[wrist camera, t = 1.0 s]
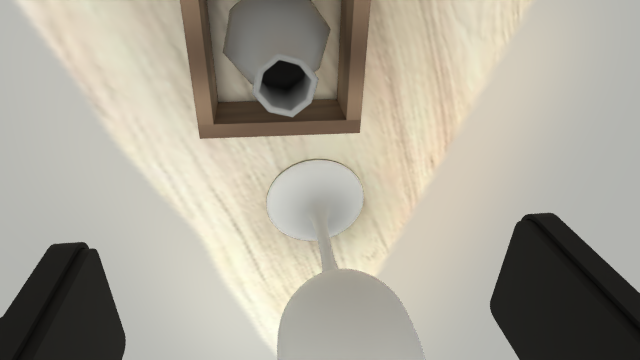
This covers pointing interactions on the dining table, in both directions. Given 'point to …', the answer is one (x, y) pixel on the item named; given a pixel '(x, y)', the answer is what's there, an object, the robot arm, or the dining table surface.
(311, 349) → the wineglass
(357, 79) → the frame
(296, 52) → the flask
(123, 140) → the dining table surface
